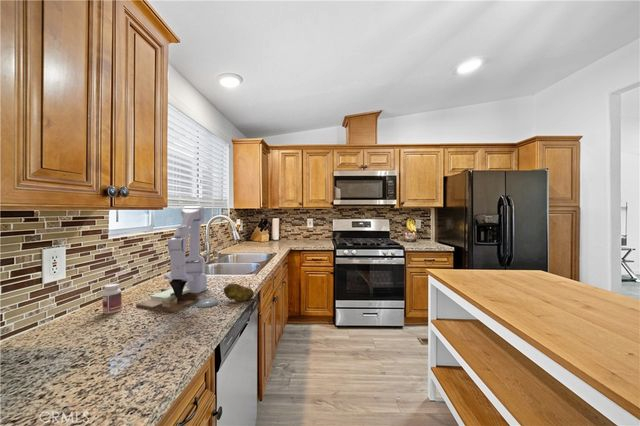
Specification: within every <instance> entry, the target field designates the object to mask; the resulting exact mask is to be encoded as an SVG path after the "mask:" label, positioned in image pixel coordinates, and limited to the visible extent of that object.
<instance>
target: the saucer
mask: <svg viewBox="0 0 640 426" xmlns="http://www.w3.org/2000/svg"><path fill="white" fill-rule="evenodd" d="M218 303H219V300H218V299H217V298H205V299H201V300H200V299H199V301H198V302H196V303H195V306H196V307H197V308H199V309H200V308H202V309H205V308H211V307H215V306H217V305H218Z"/></svg>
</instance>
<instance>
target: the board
mask: <svg viewBox="0 0 640 426" xmlns="http://www.w3.org/2000/svg"><path fill="white" fill-rule="evenodd" d="M169 289H170V288H161V289H160V292H163V291H166V290H169ZM198 301H200V298H198V293H196V292H188V293H185V294H183V295H182V296H181V297H177V304H176V305H174V306H171V307H162V300H157V299H147V300H145V301H142V302H139V303H137V304H135V307H136V308H140V309H147V310H152V311H153V310H155V311H160V312H165V313H166V312H167V313H172V314H173V313H176V312H178V311H180V310H181V311H182V309H185V308H187V307H190V306H192V305H194V304H196V303H197V302H198Z"/></svg>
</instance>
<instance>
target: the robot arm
mask: <svg viewBox="0 0 640 426" xmlns="http://www.w3.org/2000/svg"><path fill="white" fill-rule="evenodd" d="M180 211H181V212H180V214H181V215H180V216H181V218H182V219H181V223H180V225H179V226H178V227H176V230H175V231H174V234H173V236H172V238H171V239H168V242H167V250H168V255H169V256H170V257H169V258H170V273H167V274H163V280H171V281H169V282H168V283H169V285H170V287H171V289H172V288H173V291H174V293H175V297H181V296H182V292H183V289H185V286H186V289H190V292H196V293H197V294H199V293H202V292H205V291H207V290H209V288H208V280H207V279H208V278H207V275H206V273H205V271H206V260H205V258H204V257H203V256H201V255H200V247H201V246H200V245H201V244H200V243H201V242H200V241H201V224H203V223H205V217H206V212H205V207H204V206H202V205H201V206H185V205H184V206H182V208H181V210H180ZM188 239H189V240H188ZM188 245H189V247H188ZM188 248H189V253H188V256H187V257H186V251H187V250H188Z"/></svg>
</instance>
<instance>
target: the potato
mask: <svg viewBox="0 0 640 426" xmlns="http://www.w3.org/2000/svg"><path fill="white" fill-rule="evenodd" d="M254 293H255V292H254V290H253V289H251V288H249V287H247V286H243V285H240V284H238V283H231V282H230V283H229V284H227V285H226V286H225V287H224V288H223V294H224V295H225V297H226V298H227V299H229V300H234V301H236V302H245V301H248V300H250V299H252V298H253V297H254Z"/></svg>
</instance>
